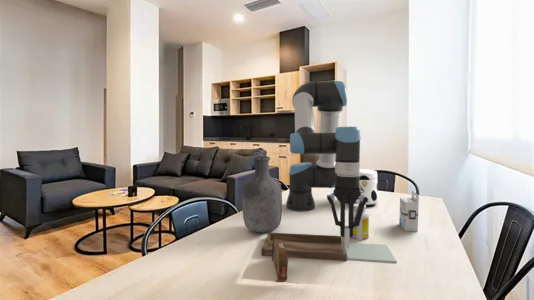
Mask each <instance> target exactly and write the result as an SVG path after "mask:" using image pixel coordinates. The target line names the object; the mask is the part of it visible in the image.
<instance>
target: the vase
mask: <svg viewBox="0 0 534 300" xmlns="http://www.w3.org/2000/svg"><path fill="white" fill-rule="evenodd" d="M252 157H253V158H252V160H253V161H254V173H253V176H252V177H251V178H250V179H248V180H245V182H244V183H243V186H242V194H241V197H242V198H241V200H242V201H241V203H242V204H241V205H242V206H241V207H242V217H243V218H242V219H243V223H244V225H245V227H246V228H247V229H248V230H249V231H252V232H255V233H261V234H262V233H263V234H264V233H271V232H273V231H274V230H276V229H278V228H279V226H280V225H281V222H282V215H283V214H282V212H283V193H282V185H281V183H280V182H279V181H278V180H277V179H275V178H273V177H272V176H271V174H270V171H269V169H270V168H269V166H270V164H269V163H270V160H271V157H270V156H269V155H268V156H266V155H262V156H261V155H260V156H252Z"/></svg>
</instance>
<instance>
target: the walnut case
mask: <svg viewBox="0 0 534 300" xmlns="http://www.w3.org/2000/svg"><path fill="white" fill-rule="evenodd" d="M274 239H278V240H282V241H283V243H284V245H285V248H286V251H287V256H288V259H305V260H306V259H307V260H321V261H323V260H324V261H338V262H347V260H348V258H347V254H346V252H345V249H344V245H343V242H342V237H341V235H325V234H323V235H322V234H306V233H305V234H304V233H286V232H267V235H266V238H265V240H264V243H263V245H262V247H261V250H260V251H261V252H260V253H261V256H262V257H272V244H273V240H274Z"/></svg>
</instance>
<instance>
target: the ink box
mask: <svg viewBox="0 0 534 300" xmlns="http://www.w3.org/2000/svg"><path fill="white" fill-rule="evenodd" d="M419 197H420V196H419V194H418V193H417V192H415V191H413V190H411V197H405V196H404V197H403V196H402V197H399V222H398V224H399V225H400V227H402V229H403V231H404V232H405V231H406V232H418V231H419V230H418V229H419V201H420V199H419Z"/></svg>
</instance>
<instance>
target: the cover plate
mask: <svg viewBox="0 0 534 300" xmlns="http://www.w3.org/2000/svg"><path fill="white" fill-rule="evenodd" d="M344 252H345V253H346V254H347V260H348V261H361V262H376V263H377V262H378V263H394V264H397V263H398V261H397V259H396V258H395V255H394V254H393V253H392V252H391V250H390V248H389V247H388V245H387V244H382V243H381V244H378V243H366V242H365V243H363V242H349V248H344Z"/></svg>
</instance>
